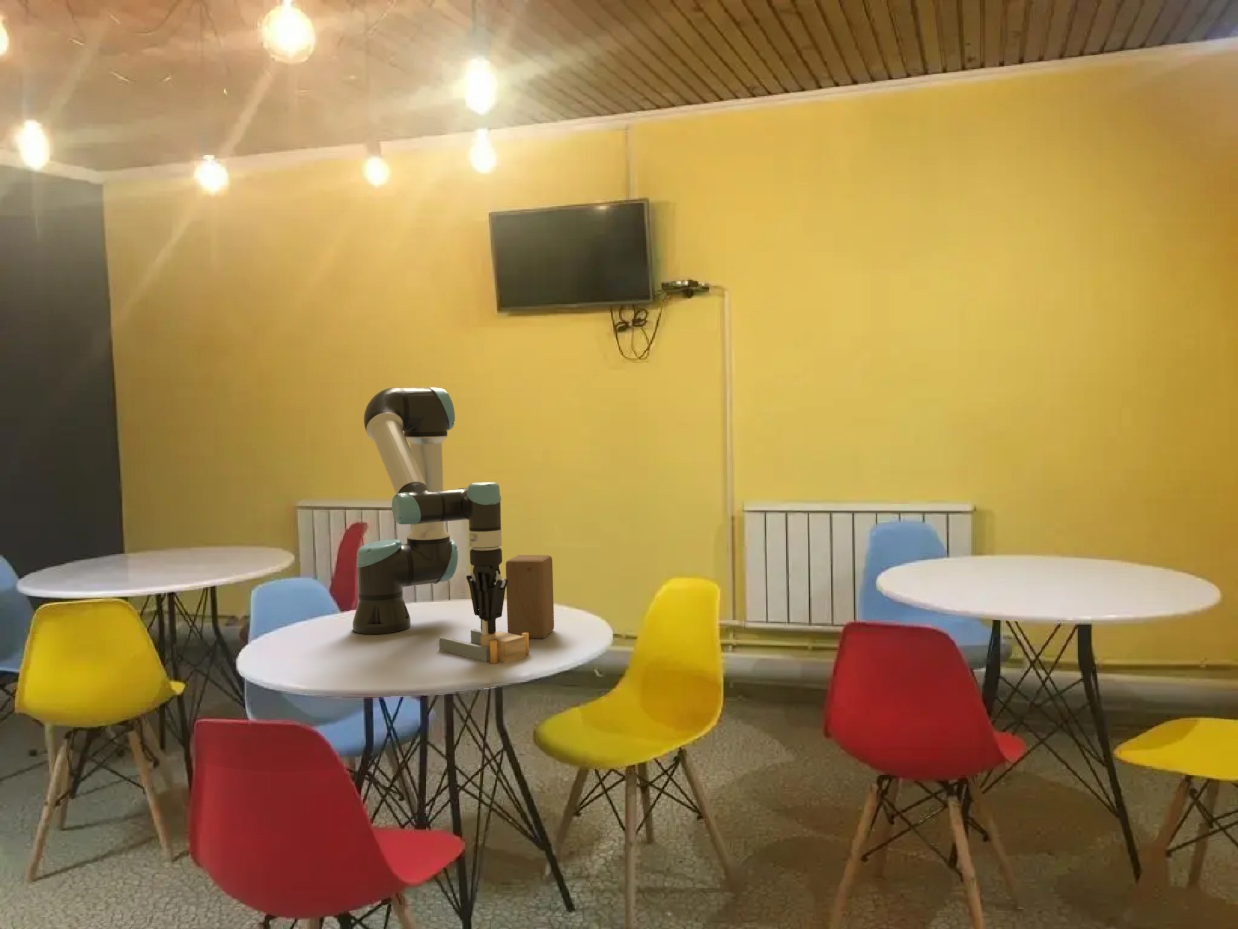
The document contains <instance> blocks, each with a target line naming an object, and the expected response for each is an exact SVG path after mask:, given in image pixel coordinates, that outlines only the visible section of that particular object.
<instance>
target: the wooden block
mask: <svg viewBox="0 0 1238 929" xmlns="http://www.w3.org/2000/svg"><path fill="white" fill-rule="evenodd" d="M553 568H554V567H553V557H552V556H551V555H549V554H547V555H545V554H536V555H535V554H519V555H518V554H517V555H516V556H514V557H512V558H510V559H507V560H506V562H505V579H507V580H508V583H507V586H506V588H505V592H506V617H507V618H506V619H507V622H506V624H507V633H511V634H515V635H520V636H522V633H529V639H540V640H541V639H544V638H547V636H548V635H549V634H550V633H552V632H553V631H554V629H555V612H554V611H555V609H554V578H553V577H554V575H553V574H554V573H553V570H554V569H553Z"/></svg>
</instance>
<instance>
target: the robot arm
mask: <svg viewBox="0 0 1238 929" xmlns="http://www.w3.org/2000/svg"><path fill="white" fill-rule="evenodd" d="M455 421H456V414H455V407H454V403H453V400H452V398H451V396H450V395H449V393H448V392H447V391H446V390H445V389H444V388H439V387H431V386H428V387H389V388H386V389H383V390H381V391H379V392H378V393H376V394H375V395H374V396H372V398H371V399H370V401H369V402H368V403H367V405H366V407H365V411H364V414H363V425H364V429H365V432H366V434H367V436H368V437H369V439H370V440H372V441H374V443H375V445H376V448H377V451H378V454H379V455H380V458H381V461H382V463H383V465H384V468H385V470H386V473H387V475H388V477H389V480H390V483H391V485H392V487H393V490H394V492H395V494H394V495H393V497H392V501H391V511H392V518H393V520H394V521H395V522H396V524H398V525H411V527H412V528H411V531H410V532H409V533H408V534H407V535H406V543H403V544H402V541H401V540H400V539H395V538H393V539H392V538H391V539H383V540H382V539H381V540H377V541H373V542H370V543H367V544H364V545H362V546H361V547H359V548H358V550H357V554H356V567H357V573H356V574H357V594H358V602H357V606H356V609H355V613H354V616H353V620H352V631H353V632H354V633H356V634H357V633H358V634H362V635H363V634H365V635H381V634H391V633H396V632H397V633H398V632H402V631H404V630H407V629H410V627H411V625H412V624H411V615H410V613H409V611H408V608H407V606H406V603H405V600H404V593H403V590H404V588H405V587H412V586H413V587H415V586H421V585H429V584H433V585H436V584H441V583H444V582H448V581H450V580H451V579H452V578H453V577H454V575H455V573H456V570H457V568H458V561H459V551H458V549H457V548H458V546H457V543H456V542H455V540H453V539H451V538H450V537H451V535H450V533H449V532H448V531H447V530H446V529H445V522H454V521H456V522H457V521H468V530H469V547H470V550H469V563H470V565H471V566H473V568H472V573H471V574H468V575H466V577H465V578H466V581H467V583H468V586H469V591H470V598H471V603H472V608H473V614H474V615H475V616H477V617H478V618H479V619H480V631H482V636H483V635H487V634H492V633H495V632H497V629H496V628H497V627H496V626H497V625H496V624H497V623H496V620H497V619H498V618H501V617H502V616H503V610H504V603H505V602H504V601H505V596H506V595H505V594H506V593H505V592H506V586H507V583H508V580H507V579H506V578H503V577H502V575H501V570H500V565H501V564H502V562H503V550H502V548H501V546H502V545H503V542H502V539H503V538H502V537H503V536H502V516H501V514H502V511H501V510H502V509H501V507H502V506H501V504H502V503H501V500H502V496H501V490H500V489H501V488H500V486H499V485H500V484H498V483H497V482H494V481H493V482H491V481H487V482H486V481H485V482H483V481H481V482H472V483H469V484H468V487H461V488H457V489H450V490H448V489H447V490H444V476H443V475H444V473H443V472H444V471H443V442H444V441H445V440H446V439H447V437H448V431H450V430H452V429H453V428H454V426H455ZM408 442H409V443H408Z"/></svg>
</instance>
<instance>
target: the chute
mask: <svg viewBox="0 0 1238 929" xmlns="http://www.w3.org/2000/svg"><path fill="white" fill-rule="evenodd" d="M480 636H482V631H481V630H478V629H476V628H475V629H471V630H470V642H466V641H462V640H458V639H454V638H450V637H445V636H441V637H439V638H438V642H439V650H440V651H442V652H447V653H450V654H453V655H454V654H455V655H459V656H463V657H464V658H465V657H466V658H470V659H474V660H477V661H481V662H485V663H489V662H490V664H491V665H495V664H498V663H499V661H498V658H497V641H495V640H494V641H490V648H488V647H484V646H481V639H480ZM522 636H524V637H525V651H526V656H528V655H530V638H529V633H522Z"/></svg>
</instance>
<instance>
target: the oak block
mask: <svg viewBox="0 0 1238 929" xmlns="http://www.w3.org/2000/svg"><path fill="white" fill-rule="evenodd" d="M480 639H481V644H480V646H484V647H488V648H490V641H494V640H495V641H497V658H498V662H501V663H503V664H509V663H511V662H514V661H518V660H522V659H525V658H526V657H527V655H526V651H525V637H524V636H520V635H515V634H511V633H508V632H506V631H496V632H495V633H492V634H487V635H483V636H480Z"/></svg>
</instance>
